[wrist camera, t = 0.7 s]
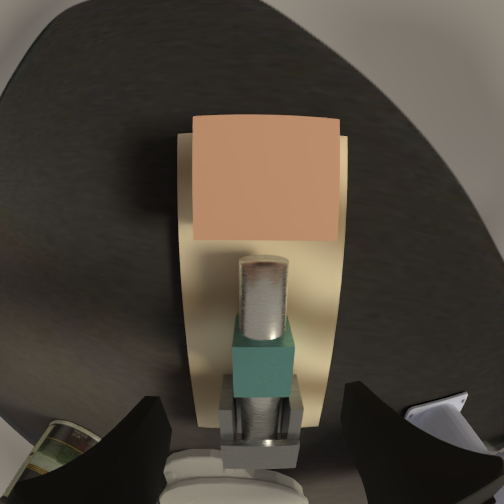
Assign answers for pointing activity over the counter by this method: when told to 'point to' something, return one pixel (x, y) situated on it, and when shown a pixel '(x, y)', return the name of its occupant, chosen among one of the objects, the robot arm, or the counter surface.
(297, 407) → the gray notched block
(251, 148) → the socket
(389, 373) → the counter surface
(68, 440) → the coffee can
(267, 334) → the tube
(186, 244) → the board
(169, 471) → the lid
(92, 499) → the robot arm
